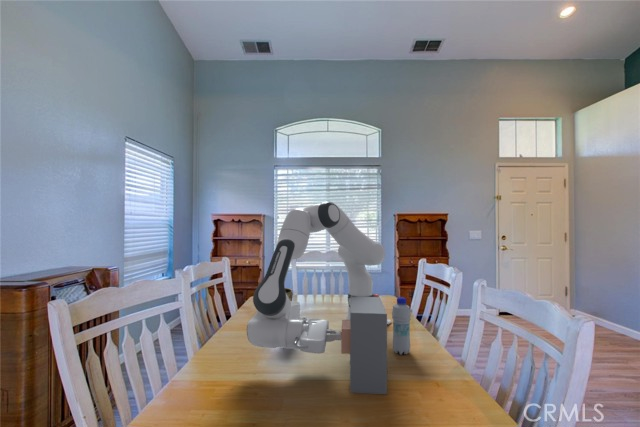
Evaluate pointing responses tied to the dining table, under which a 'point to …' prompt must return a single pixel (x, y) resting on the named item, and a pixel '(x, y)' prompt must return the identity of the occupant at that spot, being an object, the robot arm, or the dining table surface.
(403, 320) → the bottle
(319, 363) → the dining table surface
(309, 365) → the dining table surface
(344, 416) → the dining table surface
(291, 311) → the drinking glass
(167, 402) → the dining table surface
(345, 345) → the pink rectangular block
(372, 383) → the gray rectangular box
